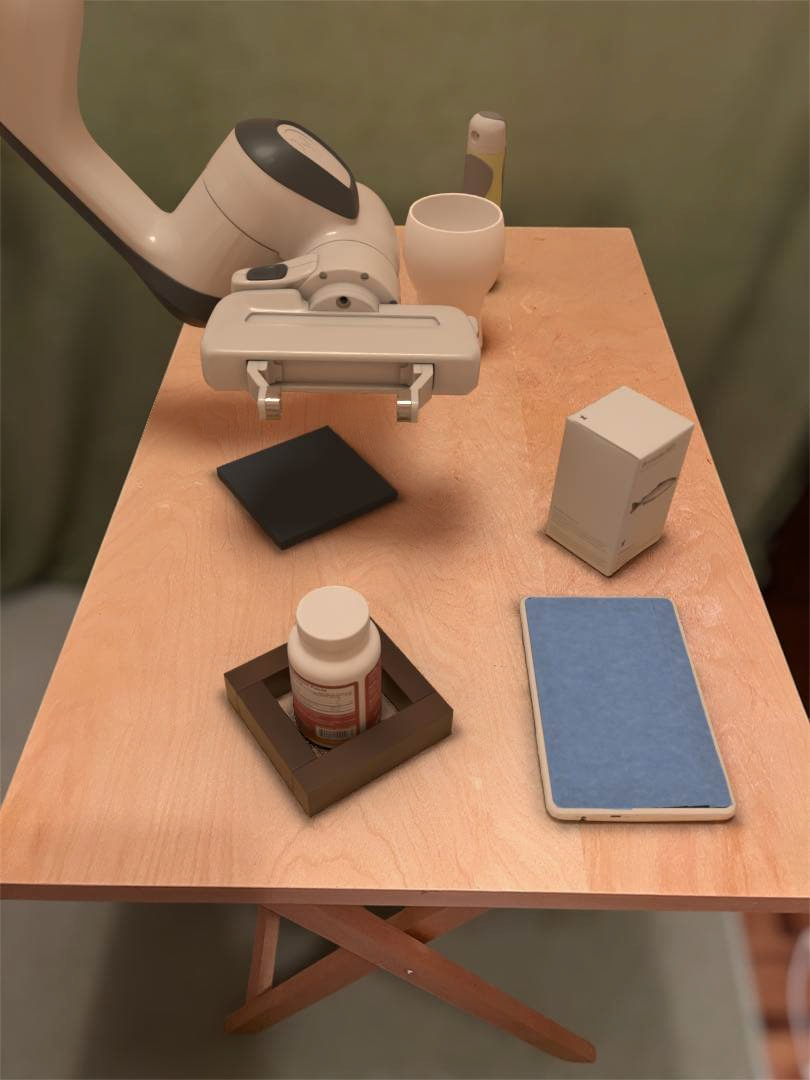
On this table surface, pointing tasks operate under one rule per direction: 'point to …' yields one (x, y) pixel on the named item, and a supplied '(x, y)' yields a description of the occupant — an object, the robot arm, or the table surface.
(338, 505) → the coaster
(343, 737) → the pill bottle
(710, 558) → the table surface
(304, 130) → the robot arm
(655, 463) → the white packaging box
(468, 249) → the cup
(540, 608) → the tablet
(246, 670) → the holder
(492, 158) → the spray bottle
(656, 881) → the table surface
